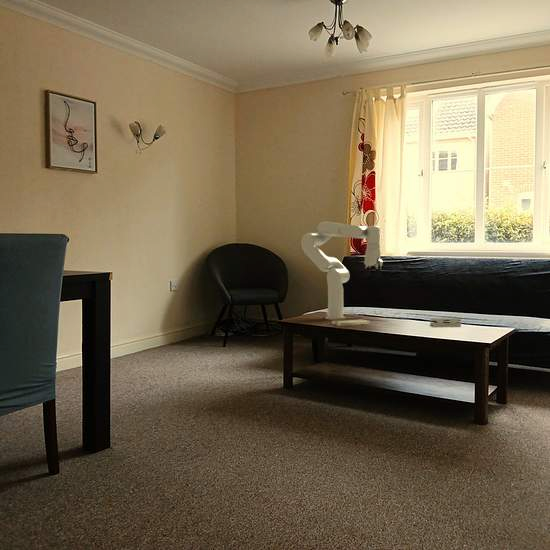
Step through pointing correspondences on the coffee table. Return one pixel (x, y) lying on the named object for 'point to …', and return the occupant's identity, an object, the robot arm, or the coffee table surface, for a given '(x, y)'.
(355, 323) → the cabinet panel
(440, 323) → the grey rounded slab
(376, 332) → the coffee table surface
